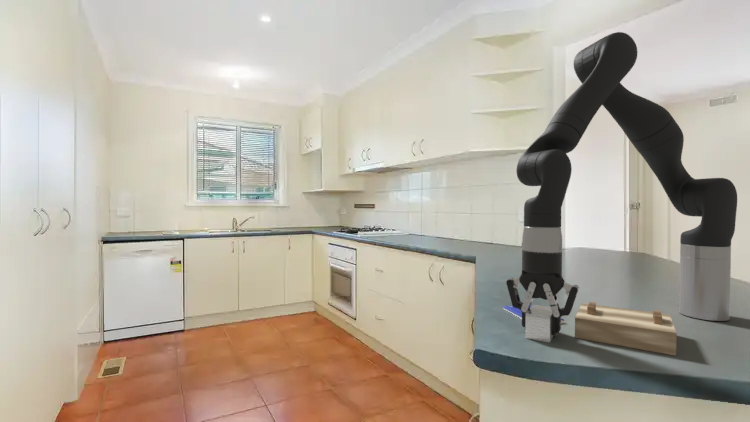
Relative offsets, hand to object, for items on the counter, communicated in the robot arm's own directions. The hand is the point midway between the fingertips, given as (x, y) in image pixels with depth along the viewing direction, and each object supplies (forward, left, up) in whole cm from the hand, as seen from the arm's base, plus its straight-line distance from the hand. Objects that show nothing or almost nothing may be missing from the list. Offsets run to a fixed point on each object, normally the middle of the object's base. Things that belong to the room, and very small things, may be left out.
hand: (540, 331), depth 78 cm
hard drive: (-13, -4, -1) cm, 14 cm away
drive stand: (-9, +14, -1) cm, 17 cm away
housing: (0, 0, -1) cm, 1 cm away
